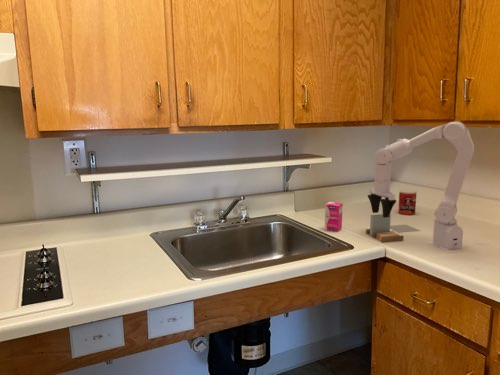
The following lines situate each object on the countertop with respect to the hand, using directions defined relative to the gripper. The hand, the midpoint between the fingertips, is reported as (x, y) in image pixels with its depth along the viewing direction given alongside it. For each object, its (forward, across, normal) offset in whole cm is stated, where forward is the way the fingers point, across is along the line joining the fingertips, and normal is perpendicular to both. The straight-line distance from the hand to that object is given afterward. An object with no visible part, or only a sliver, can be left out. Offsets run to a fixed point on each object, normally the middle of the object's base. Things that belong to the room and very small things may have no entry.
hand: (380, 214), depth 156 cm
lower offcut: (+8, +6, 0) cm, 10 cm away
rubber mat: (+9, -6, +14) cm, 18 cm away
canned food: (+9, -31, +33) cm, 46 cm away
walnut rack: (+9, +3, 0) cm, 9 cm away
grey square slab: (+8, 0, 0) cm, 8 cm away
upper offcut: (+7, +6, 0) cm, 9 cm away
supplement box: (+9, -12, -14) cm, 20 cm away
